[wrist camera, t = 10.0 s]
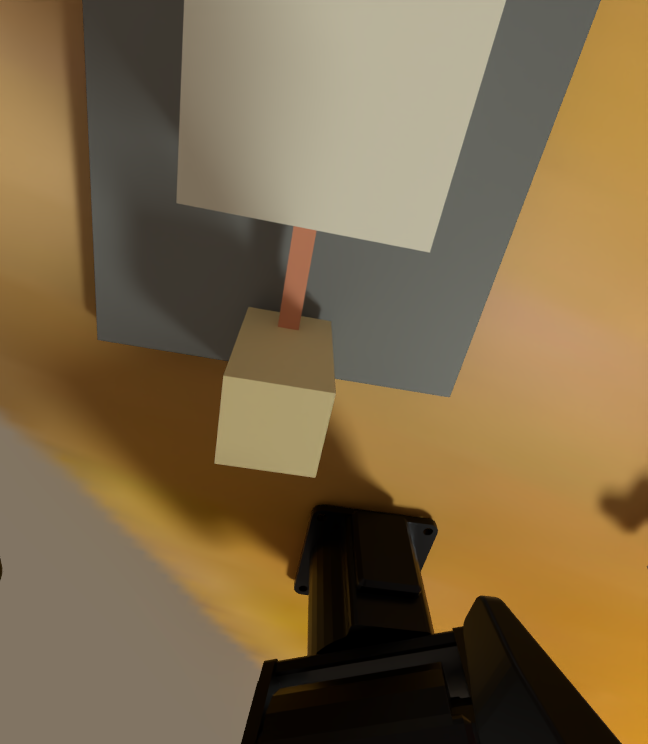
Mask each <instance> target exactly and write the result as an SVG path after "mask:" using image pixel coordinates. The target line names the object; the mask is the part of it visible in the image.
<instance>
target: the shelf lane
mask: <svg viewBox="0 0 648 744" xmlns="http://www.w3.org/2000/svg"><path fill="white" fill-rule="evenodd" d="M600 1H601V0H506V2H505V6H504V9H503V12H502V15H501V19H500V22H499V25H498V29H497V32H496V35H495V39H494V42H493V45H492V49H491V52H490V55H489V58H488V62H487V65H486V68H485V72H484V75H483V78H482V82H481V85H480V88H479V92H478V95H477V98H476V101H475V105H474V108H473V111H472V115H471V118H470V121H469V125H468V128H467V131H466V134H465V138H464V141H463V144H462V148H461V151H460V154H459V158H458V161H457V164H456V168H455V171H454V174H453V177H452V181H451V184H450V187H449V191H448V194H447V197H446V201H445V204H444V207H443V211H442V214H441V217H440V220H439V224H438V227H437V230H436V234H435V237H434V240H433V244H432V247H431V250H430V253H429V252H424V251H419V250H414V249H409V248H404V247H399V246H393V245H388V244H383V243H378V242H373V241H368V240H363V239H358V238H352V237H347V236H342V235H337V234H332V233H327V232H322V231H316V237H315V242H314V248H313V253H312V259H311V264H310V270H309V275H308V281H307V286H306V292H305V297H304V303H303V308H302V314H301V316H304V317H310V318H315V319H321V320H327V321H331V327H332V343H333V358H334V374H335V379H341V380H347V381H353V382H359V383H365V384H371V385H377V386H383V387H390V388H396V389H402V390H408V391H414V392H420V393H426V394H432V395H439V396H445V397H450V395H451V392H452V390H453V387H454V385H455V382H456V379H457V377H458V374H459V371H460V369H461V366H462V364H463V361H464V358H465V356H466V353H467V350H468V348H469V345H470V343H471V340H472V337H473V335H474V332H475V329H476V327H477V324H478V322H479V319H480V316H481V314H482V311H483V308H484V306H485V303H486V301H487V298H488V295H489V293H490V290H491V287H492V285H493V282H494V280H495V277H496V274H497V272H498V269H499V266H500V264H501V261H502V258H503V256H504V253H505V251H506V248H507V245H508V243H509V240H510V237H511V235H512V232H513V230H514V227H515V224H516V222H517V219H518V216H519V214H520V211H521V209H522V206H523V203H524V201H525V198H526V195H527V193H528V190H529V188H530V185H531V182H532V180H533V177H534V174H535V172H536V169H537V167H538V164H539V161H540V159H541V156H542V153H543V151H544V148H545V146H546V143H547V140H548V138H549V135H550V132H551V130H552V127H553V125H554V122H555V119H556V117H557V114H558V111H559V109H560V106H561V103H562V101H563V98H564V96H565V93H566V90H567V88H568V85H569V82H570V80H571V77H572V75H573V72H574V69H575V67H576V64H577V61H578V59H579V56H580V54H581V51H582V48H583V46H584V43H585V40H586V38H587V35H588V33H589V30H590V27H591V25H592V22H593V19H594V17H595V14H596V12H597V9H598V6H599V4H600ZM82 2H83V24H84V46H85V69H86V91H87V113H88V136H89V158H90V180H91V203H92V225H93V247H94V270H95V292H96V314H97V337H98V340H102V341H108V342H114V343H120V344H126V345H132V346H138V347H145V348H151V349H157V350H163V351H169V352H175V353H181V354H187V355H194V356H200V357H206V358H212V359H218V360H224V361H229V359H230V356H231V353H232V351H233V348H234V345H235V342H236V340H237V337H238V334H239V331H240V329H241V326H242V323H243V320H244V318H245V315H246V312H247V310H248V307H253V308H258V309H264V310H270V311H275V312H280V310H281V303H282V297H283V290H284V284H285V278H286V271H287V265H288V259H289V252H290V246H291V240H292V233H293V227H294V226H291V225H286V224H281V223H275V222H270V221H265V220H260V219H255V218H250V217H245V216H240V215H234V214H229V213H224V212H219V211H214V210H209V209H204V208H199V207H193V206H188V205H183V204H178V203H176V200H177V174H178V148H179V122H180V96H181V70H182V43H183V17H184V0H82Z"/></svg>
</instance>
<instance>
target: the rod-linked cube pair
mask: <svg viewBox="0 0 648 744" xmlns="http://www.w3.org/2000/svg"><path fill="white" fill-rule="evenodd" d="M505 2H506V0H184V17H183V43H182V70H181V96H180V122H179V148H178V174H177V200H176V203H178V204H183V205H188V206H193V207H199V208H204V209H209V210H214V211H219V212H224V213H229V214H234V215H240V216H245V217H250V218H255V219H260V220H265V221H270V222H275V223H281V224H286V225H291V226H294V227H293V233H292V240H291V246H290V252H289V259H288V265H287V271H286V278H285V284H284V290H283V297H282V303H281V310H280V312H275V311H270V310H264V309H258V308H253V307H248V310H247V312H246V315H245V318H244V320H243V323H242V326H241V329H240V331H239V334H238V337H237V340H236V342H235V345H234V348H233V351H232V353H231V356H230V359H229V362H228V364H227V367H226V370H225V372H224V375H223V384H222V394H221V404H220V414H219V423H218V433H217V443H216V453H215V463H214V464H221V465H228V466H235V467H242V468H249V469H256V470H263V471H271V472H278V473H285V474H292V475H299V476H306V477H313V478H316V473H317V469H318V465H319V461H320V457H321V453H322V448H323V444H324V440H325V436H326V432H327V428H328V423H329V419H330V415H331V411H332V407H333V403H334V398H335V394H336V390H335V374H334V358H333V343H332V327H331V321H327V320H321V319H315V318H310V317H304V316H301V314H302V308H303V303H304V297H305V292H306V286H307V281H308V275H309V270H310V264H311V259H312V253H313V248H314V242H315V237H316V231H322V232H327V233H332V234H337V235H342V236H347V237H352V238H358V239H363V240H368V241H373V242H378V243H383V244H388V245H393V246H399V247H404V248H409V249H414V250H419V251H424V252H429V253H430V250H431V247H432V244H433V240H434V237H435V234H436V230H437V227H438V224H439V220H440V217H441V214H442V211H443V207H444V204H445V201H446V197H447V194H448V191H449V187H450V184H451V181H452V177H453V174H454V171H455V168H456V164H457V161H458V158H459V154H460V151H461V148H462V144H463V141H464V138H465V134H466V131H467V128H468V125H469V121H470V118H471V115H472V111H473V108H474V105H475V101H476V98H477V95H478V92H479V88H480V85H481V82H482V78H483V75H484V72H485V68H486V65H487V62H488V58H489V55H490V52H491V49H492V45H493V42H494V39H495V35H496V32H497V29H498V25H499V22H500V19H501V15H502V12H503V9H504V6H505Z"/></svg>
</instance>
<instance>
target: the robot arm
mask: <svg viewBox="0 0 648 744" xmlns="http://www.w3.org/2000/svg"><path fill="white" fill-rule="evenodd" d="M320 514H324V515H320ZM427 528H429V529H427ZM437 533H438V529H437V526H436V523H435V521H434V520H432V519H427V518H420V517H412V516H405V515H397V514H390V513H383V512H375V511H368V510H360V509H353V508H346V507H338V506H331V505H317V506H315V507H314V508H313V510H312V513H311V517H310V521H309V525H308V529H307V533H306V537H305V541H304V545H303V549H302V553H301V557H300V561H299V565H298V570H297V574H296V578H295V583H294V590H295V591H296V592H297V593H298V594H303V595H309V604H308V654H307V656H304V657H298V658H292V659H287V660H281V661H278V660H277V659H273V660H267V661H264V663H263V667H262V671H261V674H260V678H259V681H258V683H257V686H256V690H255V694H254V697H253V701H252V705H251V708H250V712H249V716H248V719H247V724H246V727H245V731H244V735H243V739H242V742H241V744H622V743H621V742H620V741H619V740H618V739H617V737H616V736H615V735H614V734H613V733H612V731H611V730H610V729H609V728H608V727H607V725H606V724H605V723H604V722H603V721H602V719H601V718H600V717H599V716H598V715H597V713H596V712H595V711H594V710H593V709H592V707H591V706H590V705H589V704H588V703H587V701H586V700H585V699H584V698H583V697H582V696H581V694H580V693H579V692H578V691H577V690H576V688H575V687H574V686H573V685H572V684H571V682H570V681H569V680H568V679H567V678H566V676H565V675H564V674H563V673H562V672H561V670H560V669H559V668H558V667H557V666H556V664H555V663H554V662H553V661H552V660H551V658H550V657H549V656H548V655H547V654H546V652H545V651H544V650H543V649H542V648H541V646H540V645H539V644H538V643H537V642H536V640H535V639H534V638H533V637H532V636H531V634H530V633H529V632H528V631H527V630H526V628H525V627H524V626H523V625H522V624H521V622H520V621H519V620H518V619H517V618H516V616H515V615H514V614H513V613H512V612H511V610H510V609H509V608H508V607H507V606H506V604H505V603H504V602H503V601H502V600H501V599H499V598H497V597H490V596H479V597H477V598H476V600H475V602H474V604H473V605H472V607H471V609H470V611H469V613H468V614H467V616H466V618H465V621H464V626H462V627H456V628H452V629H453V631H448V632H442V633H436V634H434V630H433V625H432V621H431V616H430V612H429V607H428V603H427V598H426V594H425V590H424V585H423V581H422V576H421V569H422V567H423V565H424V563H425V560H426V558H427V556H428V553H429V551H430V549H431V547H432V544H433V542H434V540H435V537H436V535H437ZM1 576H2V564H1V559H0V579H1Z"/></svg>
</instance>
